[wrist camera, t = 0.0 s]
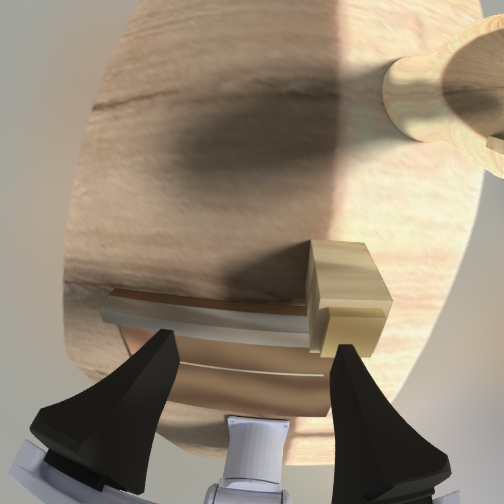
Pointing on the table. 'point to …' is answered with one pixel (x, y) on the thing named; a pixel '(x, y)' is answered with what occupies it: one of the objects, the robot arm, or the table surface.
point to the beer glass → (454, 94)
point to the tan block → (344, 298)
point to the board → (230, 352)
